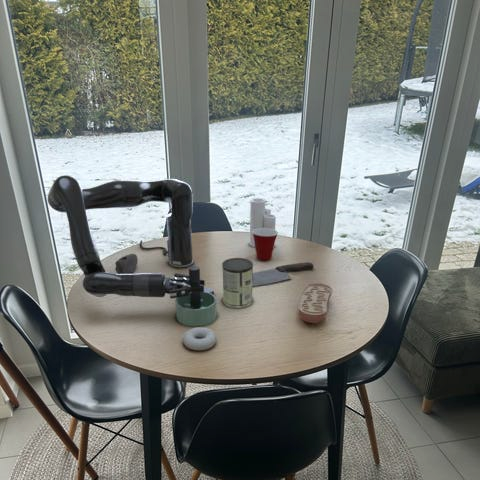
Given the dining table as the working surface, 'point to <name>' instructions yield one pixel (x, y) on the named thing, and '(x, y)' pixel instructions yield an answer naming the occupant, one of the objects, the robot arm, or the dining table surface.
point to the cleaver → (278, 273)
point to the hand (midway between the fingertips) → (203, 285)
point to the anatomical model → (314, 302)
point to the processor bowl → (196, 310)
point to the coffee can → (237, 282)
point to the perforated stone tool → (126, 264)
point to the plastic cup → (264, 242)
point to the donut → (199, 344)
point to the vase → (260, 217)
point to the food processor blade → (194, 296)
